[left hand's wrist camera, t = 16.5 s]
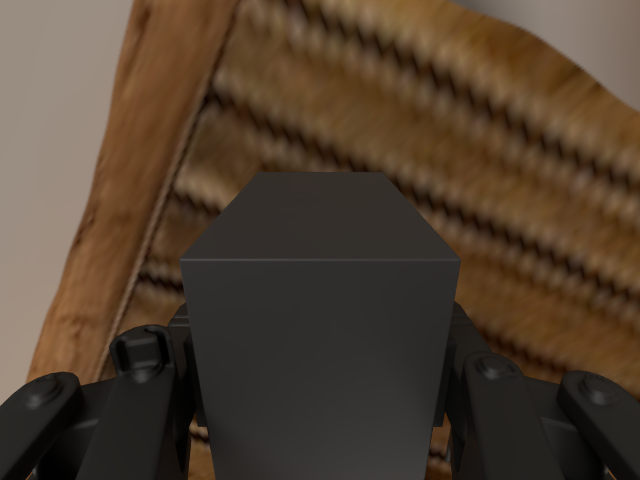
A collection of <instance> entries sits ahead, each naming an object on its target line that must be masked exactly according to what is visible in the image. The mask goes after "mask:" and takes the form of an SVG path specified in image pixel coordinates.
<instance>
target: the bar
mask: <svg viewBox="0 0 640 480" xmlns="http://www.w3.org/2000/svg"><path fill="white" fill-rule="evenodd" d="M179 262H180V268H181V274H182V280H183V286H184V292H185V298H186V304H187V310H188V316H189V322H190V328H191V334H192V340H193V346H194V352H195V358H196V364H197V370H198V376H199V382H200V388H201V394H202V400H203V406H204V412H205V418H206V424H207V430H208V436H209V442H210V448H211V454H212V460H213V466H214V472H215V478H216V480H424V479H425V473H426V467H427V461H428V455H429V449H430V443H431V437H432V431H433V425H434V419H435V413H436V407H437V401H438V395H439V389H440V383H441V377H442V371H443V365H444V359H445V353H446V347H447V341H448V335H449V329H450V323H451V317H452V311H453V305H454V299H455V293H456V287H457V281H458V275H459V269H460V263H461V259H460V258H459V257H458V256H457V254H456V253H455V252H454V251H453V250H452V249H451V248H450V247H449V246H448V245H447V243H446V242H445V241H444V240H443V239H442V238H441V237H440V236H439V235H438V233H437V232H436V231H435V230H434V229H433V228H432V227H431V226H430V225H429V223H428V222H427V221H426V220H425V219H424V218H423V217H422V216H421V215H420V214H419V212H418V211H417V210H416V209H415V208H414V207H413V206H412V205H411V204H410V202H409V201H408V200H407V199H406V198H405V197H404V196H403V195H402V194H401V193H400V191H399V190H398V189H397V188H396V187H395V186H394V185H393V184H392V183H391V181H390V180H389V179H388V178H387V177H386V176H385V175H384V174H383V173H382V172H258V173H257V174H256V175H255V176H254V177H253V179H252V180H251V181H250V182H249V183H248V184H247V185H246V186H245V187H244V188H243V190H242V191H241V192H240V193H239V194H238V195H237V196H236V197H235V198H234V199H233V201H232V202H231V203H230V204H229V205H228V206H227V207H226V208H225V209H224V210H223V212H222V213H221V214H220V215H219V216H218V217H217V218H216V219H215V220H214V221H213V223H212V224H211V225H210V226H209V227H208V228H207V229H206V230H205V231H204V232H203V234H202V235H201V236H200V237H199V238H198V239H197V240H196V241H195V242H194V243H193V245H192V246H191V247H190V248H189V249H188V250H187V251H186V252H185V253H184V254H183V256H182V257H181V258H180V260H179Z"/></svg>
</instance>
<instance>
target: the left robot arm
mask: <svg viewBox="0 0 640 480" xmlns="http://www.w3.org/2000/svg"><path fill="white" fill-rule="evenodd" d="M109 349H110V352H111V356H112V359H113V363H114V366H115V370H116V374H117V375H116V377H115V378H112V379H108V380H104V381H100V382H95V383H91V384H86V385H82V386H81V385H80V382H79V379H78V377H77V376H76V375H74V374H73V373H69V372H57V373H51V374H48V375H45V376H42V377H39V378H37V379H35V380H33V381H31V382H29V383H27V384H25V385H24V386H22V387H21V388H20V389H18V390H17V391H16V392H15V393H13V394H12V395H11V396H10V397H9V398H8V399H7V400H6V401H5V402H4V403H3V404H2V405H1V406H0V480H26V478H27V477H28V476H29V474H30V473H31V472H33V473H32V475H31V476H30V477H29V479H28V480H188V470H189V460H190V449H191V436H190V430H189V426H190V424H191V421H192V419H193V416H194V414H195V413H196V418H197V424H198V427H207V424H206V418H205V412H204V406H203V400H202V394H201V388H200V382H199V376H198V370H197V364H196V358H195V352H194V346H193V340H192V334H191V328H190V322H189V316H188V310H187V304H186V303H184V304H183V305H181V306H180V307H179V309H178V310H177V312H176V313H175V315H174V317H173V318H172V319H171V321H170V322H169V323H168V326H166V327H165V326H161V325H157V324H155V325H143V326H139V327H135V328H132V329H130V330H128V331H126V332H123V333H122V334H121V335H119V336H118V337H116V338H115V339H114V340H113V341H112V343H111V344H110V345H109ZM445 412H446V414H447V417H448V419H449V421H450V424H451V430H450V435H449V440H448V445H447V450H446V456H445V462H449V461H450V459H451V469H452V479H453V480H614V479H613V478H612V476H611V475H610V474H609V472H608V471H609V470H610V471H611V473H612V474H613V475H614V477H615V478H616V479H617V480H640V403H639V402H638V401H637V400H635V399H634V398H633V397H632V396H631V395H630V394H629V393H628V392H627V391H626V390H624V389H623V388H622V387H620V386H619V385H618V384H617V383H615V382H613V381H611V380H609V379H607V378H605V377H603V376H600V375H598V374H594V373H591V372H587V371H579V370H576V371H569V372H567V373H566V374H565V375H563V377H562V380H561V383H560V384H556V383H551V382H547V381H542V380H538V379H534V378H530V377H527V376H524V375H523V373H522V371H521V370H520V368H519V367H518V366H517V365H516V364H515V363H513V362H512V361H511V360H510V359H508V358H506V357H504V356H502V355H500V354H497V353H493V352H492V351H491V349H490V348H489V346H488V345H487V343H486V342H485V340H484V339H483V338H482V336H481V335H480V333H479V332H478V330H477V329H476V327H475V326H474V325H473V323H472V322H471V320H470V319H469V317H467V314H466V313H465V311H464V310H463V309H462V307H461V306H460V305H459V304H458V303H456V302H455V301H454V305H453V311H452V317H451V323H450V329H449V335H448V341H447V347H446V353H445V359H444V365H443V371H442V377H441V383H440V389H439V395H438V401H437V407H436V413H435V419H434V425H433V427H442V425H443V420H444V414H445Z"/></svg>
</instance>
